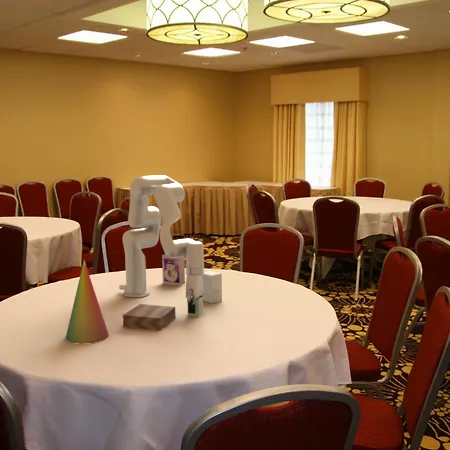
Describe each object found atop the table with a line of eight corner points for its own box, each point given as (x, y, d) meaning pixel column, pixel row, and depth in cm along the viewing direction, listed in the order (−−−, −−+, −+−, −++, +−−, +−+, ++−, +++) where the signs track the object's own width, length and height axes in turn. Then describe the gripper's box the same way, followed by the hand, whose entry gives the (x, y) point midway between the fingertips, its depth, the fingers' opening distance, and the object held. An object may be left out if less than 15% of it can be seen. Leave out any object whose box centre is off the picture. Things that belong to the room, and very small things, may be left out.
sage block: (187, 315, 247) (187, 299, 246) (191, 312, 252) (191, 296, 251) (199, 316, 246) (198, 300, 244) (202, 313, 250) (202, 297, 249)
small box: (222, 301, 268) (222, 273, 266) (211, 303, 264) (211, 275, 262) (211, 297, 275) (211, 270, 273) (200, 299, 271) (200, 272, 269)
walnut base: (123, 327, 232) (122, 314, 231) (140, 315, 247) (140, 303, 247) (160, 330, 228) (160, 318, 227) (175, 318, 243) (175, 307, 242)
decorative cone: (65, 346, 211) (61, 265, 207) (65, 332, 227) (61, 256, 222) (110, 341, 216) (107, 262, 211) (107, 328, 231) (104, 254, 227)
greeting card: (161, 283, 300) (161, 255, 298) (169, 280, 307) (169, 252, 305) (180, 286, 295) (180, 257, 293) (188, 283, 302) (187, 254, 299)
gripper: (193, 265, 255) (194, 303, 258) (179, 274, 239) (179, 315, 241) (209, 266, 253) (210, 305, 255) (196, 275, 236) (197, 316, 239)
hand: (195, 310), depth 248 cm, fingers open, 9 cm apart
